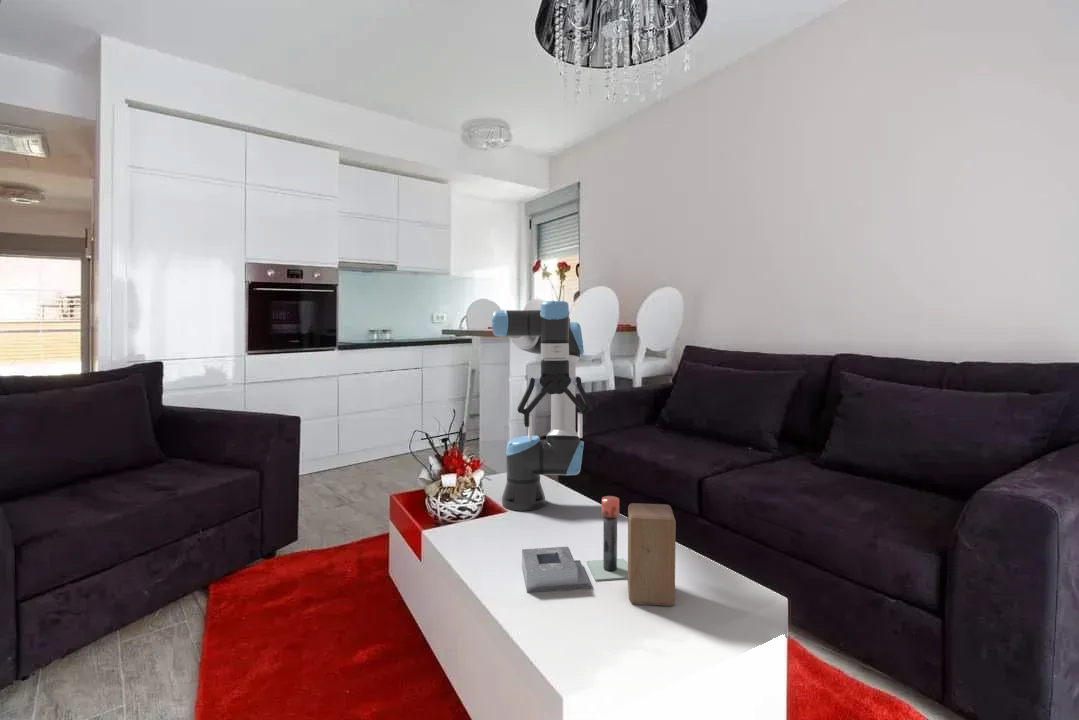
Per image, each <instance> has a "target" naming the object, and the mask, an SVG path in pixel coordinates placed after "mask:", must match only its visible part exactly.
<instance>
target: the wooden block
mask: <svg viewBox="0 0 1079 720" xmlns="http://www.w3.org/2000/svg"><path fill="white" fill-rule="evenodd" d="M676 524H677V523H676V519H675V516H674V511H673V509H672V507H671V505H669V504H664V503H663V504H662V503H640V502H639V503H638V502H637V503H635V502H632V503H629V505H628V507H627V565H628V579H627V592H628V600H629V602H630V603H632V604H638V605H651V606H664V607H666V606H667V607H672V606H674V604H675V602H676V541H677V540H676V539H677V538H676V534H677V531H676V530H677V529H676V528H677V527H676Z"/></svg>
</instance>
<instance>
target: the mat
mask: <svg viewBox="0 0 1079 720" xmlns="http://www.w3.org/2000/svg"><path fill="white" fill-rule="evenodd" d="M586 565H587V566H588V568H589V571H590V573H591V575H592V576H593V580H594V581H595V582H602V581H615V580H617V581H618V580H628V562H627V561H626V559H625V558H617V570H616V571H613V572H608V571H605V570H604V569H603V559H595V560H586Z"/></svg>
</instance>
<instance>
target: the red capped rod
mask: <svg viewBox="0 0 1079 720" xmlns="http://www.w3.org/2000/svg"><path fill="white" fill-rule="evenodd" d="M601 516H603V535H602V536H603V537H602V538H603V541H602V542H603V543H602V544H603V551H602V552H603V559H602V560H603V569H604V570H605V571H608V572H613V571H616V570H617V559H618V518H619V516H620V498H619V497H618V496H614V495H606V496H602V497H601Z"/></svg>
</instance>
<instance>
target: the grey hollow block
mask: <svg viewBox="0 0 1079 720" xmlns="http://www.w3.org/2000/svg"><path fill="white" fill-rule="evenodd" d="M572 554H573V553H572V552H571V549H570V547H569V546H558V547H557V546H556V547H542V548H541V547H539V548H537V547H536V548H521V557H522V558H521V570H522V575H523V580H524V584H525V590H526V593H535V592H536V593H539V592H549V591H551V592H553V591H554V592H555V591H565V590H577V589H578V590H579V589H582V590H583V589H591V582H590V579H589V578H588V576H587V573H586V570H585V568H584V567H583V564H582V562H581V560H580V559H579V560H578V559H577V560H575V558H574V556H573V555H572Z"/></svg>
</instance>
